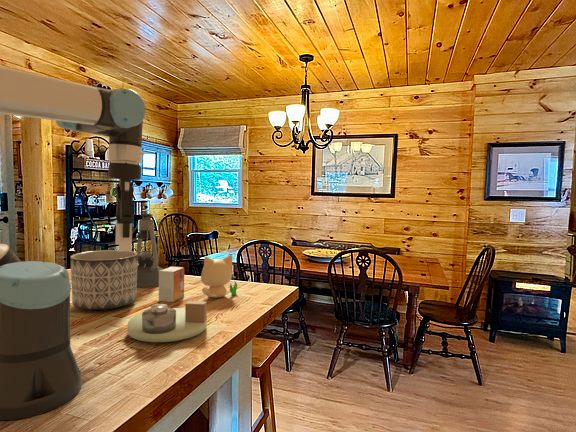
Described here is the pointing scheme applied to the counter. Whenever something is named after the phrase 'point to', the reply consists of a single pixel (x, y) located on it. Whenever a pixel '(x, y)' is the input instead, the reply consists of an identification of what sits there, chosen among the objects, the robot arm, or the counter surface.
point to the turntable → (187, 324)
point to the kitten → (217, 276)
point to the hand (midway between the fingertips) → (122, 247)
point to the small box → (171, 284)
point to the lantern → (147, 255)
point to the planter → (103, 279)
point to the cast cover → (159, 319)
